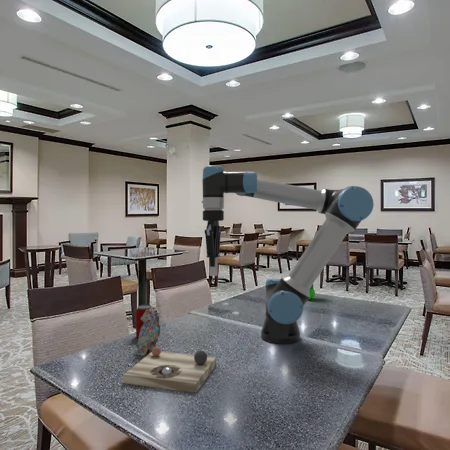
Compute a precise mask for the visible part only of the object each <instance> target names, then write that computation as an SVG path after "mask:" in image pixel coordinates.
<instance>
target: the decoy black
mask: <svg viewBox="0 0 450 450" xmlns="http://www.w3.org/2000/svg"><path fill="white" fill-rule="evenodd" d="M193 355H194V360H195V362H196V363H197V364H199V365H202V364H204V363H205V362H206V361H207V356H208V354H207V353H206V352H205V351H203V350H198V351H196V352H195V353H194V354H193Z"/></svg>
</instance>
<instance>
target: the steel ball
mask: <svg viewBox="0 0 450 450" xmlns="http://www.w3.org/2000/svg"><path fill="white" fill-rule="evenodd" d="M172 373H173V371H172V369H171V368H169V367H166V368H164V369H163V370H162V372H161V375H169V374H172Z"/></svg>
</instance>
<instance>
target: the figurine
mask: <svg viewBox="0 0 450 450" xmlns="http://www.w3.org/2000/svg"><path fill="white" fill-rule="evenodd" d="M141 320H143V322H144V324H143V325H142V327H141V330H140V334H139V337H138V339H137V343H136V349H135V355H137V356H141V357H142V356H143V357H146V356H147V355H148V354H150V353H151V352H152V349H153V348H154V347H155V346H157V342H158V341H159V337H160V333H161V325H160V315H159V313H158V311H156V308H155V307H153V306H152V308H150V309H149V310H146V311H145V312H144V314H143V316H142V317H141Z"/></svg>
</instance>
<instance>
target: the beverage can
mask: <svg viewBox="0 0 450 450" xmlns="http://www.w3.org/2000/svg"><path fill="white" fill-rule="evenodd" d="M152 307H153V306H152V305H149V304H141V305H138V306H137V308H136V310H135V336H136V337H137V338H139V334H140V330H141V327H142V325H143V324H144V322H143V320H141V317H142V316H143V314H144V312H145V311H146V310H149V309H150V308H152Z"/></svg>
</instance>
